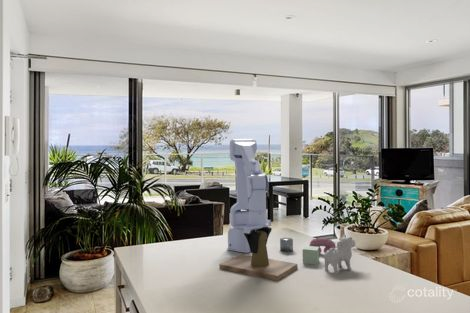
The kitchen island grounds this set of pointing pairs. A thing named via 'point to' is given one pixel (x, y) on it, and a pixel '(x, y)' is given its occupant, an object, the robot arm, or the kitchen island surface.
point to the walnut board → (271, 271)
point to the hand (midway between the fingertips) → (258, 250)
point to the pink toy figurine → (323, 244)
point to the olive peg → (260, 252)
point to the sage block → (310, 255)
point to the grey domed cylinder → (286, 244)
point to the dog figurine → (340, 253)
